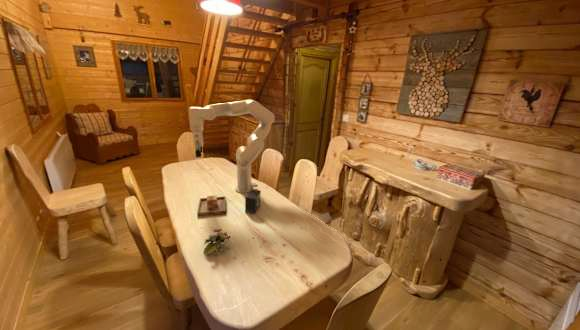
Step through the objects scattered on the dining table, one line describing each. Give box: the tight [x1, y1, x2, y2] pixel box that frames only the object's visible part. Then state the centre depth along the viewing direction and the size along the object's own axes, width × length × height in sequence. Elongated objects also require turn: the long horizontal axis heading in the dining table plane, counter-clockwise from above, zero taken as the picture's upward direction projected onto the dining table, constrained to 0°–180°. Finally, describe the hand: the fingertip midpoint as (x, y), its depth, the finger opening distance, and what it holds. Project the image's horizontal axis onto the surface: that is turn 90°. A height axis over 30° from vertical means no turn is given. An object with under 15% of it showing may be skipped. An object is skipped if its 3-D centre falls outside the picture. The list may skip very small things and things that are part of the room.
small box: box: [244, 189, 262, 215], centre depth 143 cm, size 11×6×10 cm, turn 168°
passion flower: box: [203, 228, 231, 255], centre depth 109 cm, size 11×11×12 cm
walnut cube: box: [206, 194, 218, 209], centre depth 143 cm, size 6×6×6 cm
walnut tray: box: [196, 196, 227, 217], centre depth 144 cm, size 16×18×2 cm
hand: (199, 154), depth 150 cm, fingers open, 9 cm apart
